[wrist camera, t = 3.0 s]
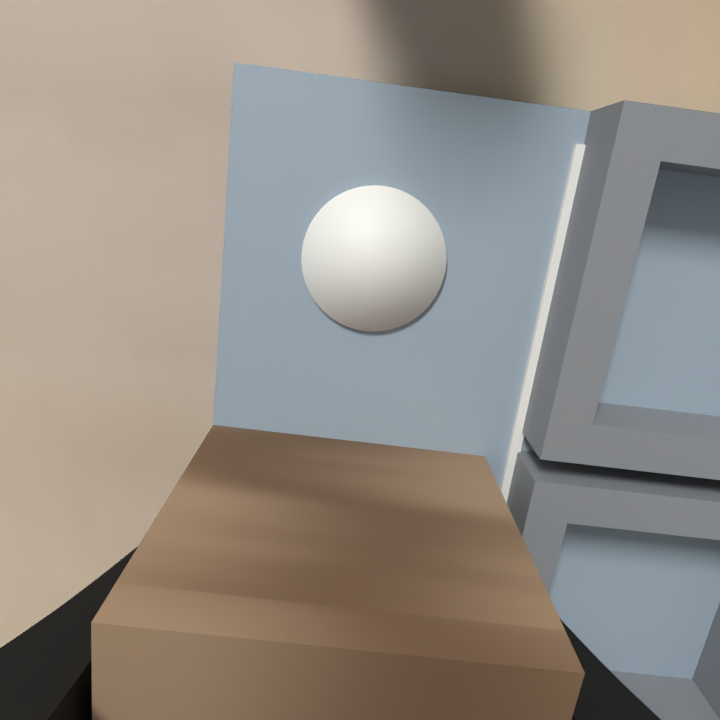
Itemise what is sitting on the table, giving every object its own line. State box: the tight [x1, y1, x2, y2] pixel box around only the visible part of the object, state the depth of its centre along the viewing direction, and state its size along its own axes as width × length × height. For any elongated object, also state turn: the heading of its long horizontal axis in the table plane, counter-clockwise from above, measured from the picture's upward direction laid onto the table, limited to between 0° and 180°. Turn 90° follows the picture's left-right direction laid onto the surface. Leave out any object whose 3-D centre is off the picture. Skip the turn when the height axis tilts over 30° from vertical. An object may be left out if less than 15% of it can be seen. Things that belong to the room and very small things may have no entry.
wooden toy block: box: [91, 425, 585, 720], centre depth 9 cm, size 5×5×5 cm
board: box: [213, 62, 720, 720], centre depth 10 cm, size 11×12×4 cm
